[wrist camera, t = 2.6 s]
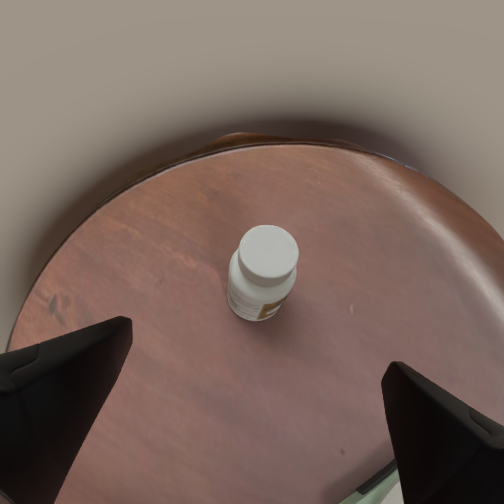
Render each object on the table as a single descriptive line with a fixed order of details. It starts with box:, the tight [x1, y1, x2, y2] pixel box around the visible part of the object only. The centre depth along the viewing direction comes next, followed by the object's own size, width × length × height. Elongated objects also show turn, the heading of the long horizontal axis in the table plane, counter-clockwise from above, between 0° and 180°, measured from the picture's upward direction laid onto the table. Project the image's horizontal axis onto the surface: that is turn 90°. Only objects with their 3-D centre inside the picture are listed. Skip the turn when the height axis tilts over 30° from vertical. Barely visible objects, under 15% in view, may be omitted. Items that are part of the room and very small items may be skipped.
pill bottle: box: [227, 225, 299, 321], centre depth 20 cm, size 4×4×8 cm
